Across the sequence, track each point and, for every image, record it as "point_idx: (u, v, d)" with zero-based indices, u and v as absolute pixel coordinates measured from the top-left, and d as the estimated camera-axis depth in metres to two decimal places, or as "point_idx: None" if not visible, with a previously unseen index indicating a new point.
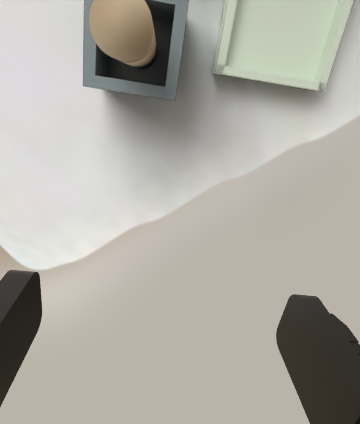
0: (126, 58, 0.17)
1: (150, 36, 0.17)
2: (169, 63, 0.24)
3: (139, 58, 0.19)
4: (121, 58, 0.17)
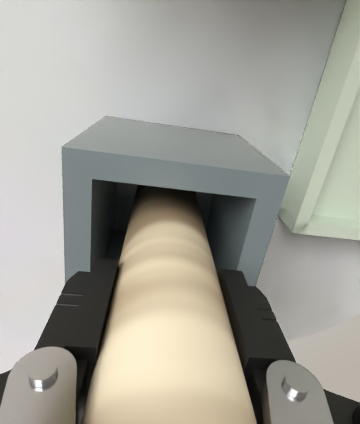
0: None
1: None
2: None
3: None
4: None
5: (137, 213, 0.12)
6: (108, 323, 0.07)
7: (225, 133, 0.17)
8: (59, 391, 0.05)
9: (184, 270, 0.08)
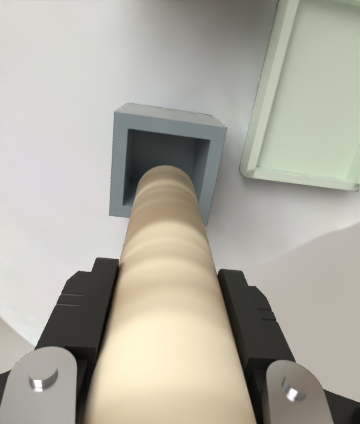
0: None
1: None
2: (202, 193, 0.23)
3: None
4: None
5: (137, 213, 0.12)
6: (108, 323, 0.07)
7: None
8: (59, 391, 0.05)
9: (184, 270, 0.08)
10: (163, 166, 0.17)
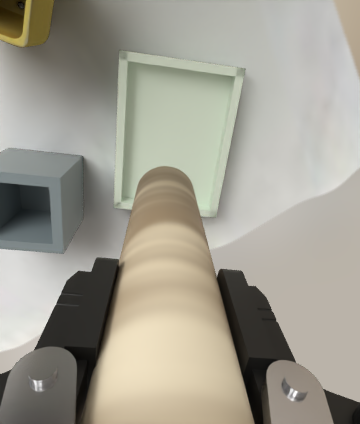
0: None
1: None
2: (52, 227, 0.28)
3: None
4: None
5: (136, 214, 0.12)
6: (107, 325, 0.07)
7: (74, 155, 0.33)
8: (59, 391, 0.05)
9: (183, 272, 0.08)
10: (163, 167, 0.17)
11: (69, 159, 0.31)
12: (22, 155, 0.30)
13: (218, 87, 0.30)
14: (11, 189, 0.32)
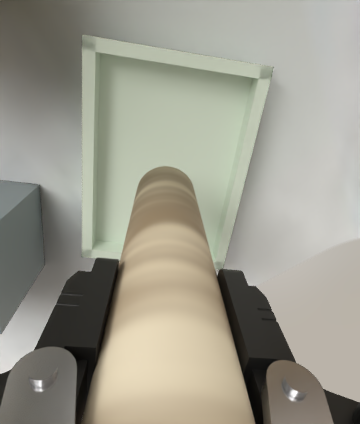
0: None
1: None
2: None
3: None
4: None
5: (137, 215, 0.12)
6: (108, 325, 0.07)
7: (28, 183, 0.24)
8: (59, 391, 0.05)
9: (184, 272, 0.08)
10: (163, 167, 0.17)
11: (16, 192, 0.22)
12: None
13: (232, 94, 0.21)
14: None
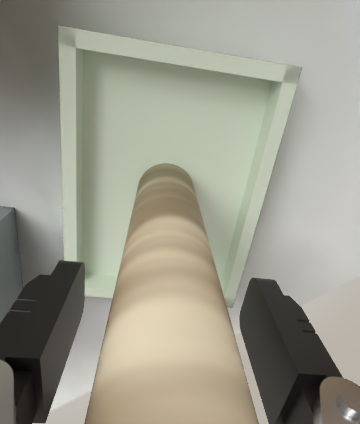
0: None
1: None
2: None
3: None
4: None
5: (139, 209, 0.13)
6: (114, 308, 0.08)
7: (0, 207, 0.20)
8: None
9: (184, 260, 0.09)
10: (163, 164, 0.18)
11: None
12: None
13: (247, 100, 0.17)
14: None
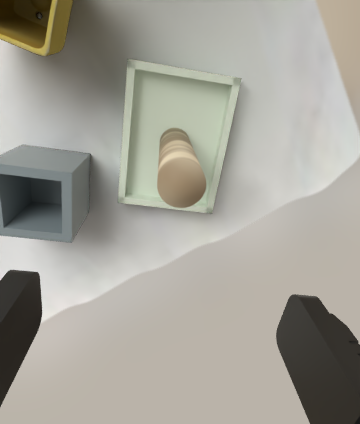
0: (183, 206, 0.22)
1: (203, 192, 0.22)
2: (62, 218, 0.30)
3: None
4: (179, 206, 0.22)
5: (164, 141, 0.29)
6: (161, 159, 0.24)
7: None
8: None
9: (184, 147, 0.25)
10: (173, 128, 0.34)
11: (78, 156, 0.34)
12: (35, 151, 0.33)
13: (217, 94, 0.33)
14: (24, 183, 0.34)
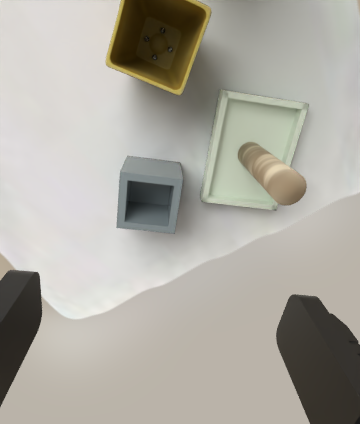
0: (288, 204, 0.30)
1: (303, 194, 0.30)
2: (170, 214, 0.39)
3: None
4: (285, 204, 0.30)
5: (253, 154, 0.37)
6: (265, 169, 0.32)
7: (174, 162, 0.44)
8: None
9: (279, 160, 0.33)
10: (250, 142, 0.42)
11: (174, 165, 0.42)
12: (142, 162, 0.42)
13: (286, 115, 0.41)
14: (130, 186, 0.43)
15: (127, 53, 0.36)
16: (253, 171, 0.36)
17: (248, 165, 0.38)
